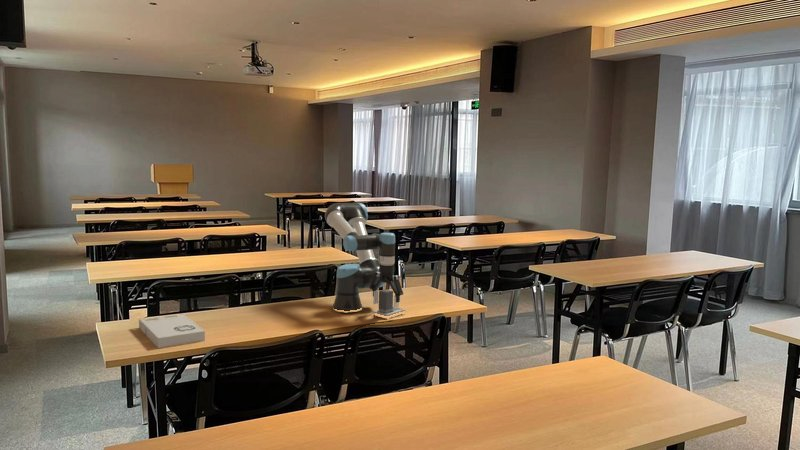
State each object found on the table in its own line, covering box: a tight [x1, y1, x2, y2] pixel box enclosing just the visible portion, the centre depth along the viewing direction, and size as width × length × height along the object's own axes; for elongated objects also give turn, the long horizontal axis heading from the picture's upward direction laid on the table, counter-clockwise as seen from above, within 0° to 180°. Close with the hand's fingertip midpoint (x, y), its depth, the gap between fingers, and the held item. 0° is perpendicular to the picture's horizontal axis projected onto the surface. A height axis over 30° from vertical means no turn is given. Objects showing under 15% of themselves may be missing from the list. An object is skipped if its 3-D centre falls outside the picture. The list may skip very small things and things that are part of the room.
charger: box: [378, 289, 394, 314], centre depth 290 cm, size 5×5×12 cm
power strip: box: [373, 305, 406, 316], centre depth 293 cm, size 9×14×3 cm, turn 140°
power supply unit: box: [138, 313, 206, 349], centre depth 253 cm, size 19×33×5 cm, turn 37°
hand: (385, 306), depth 290 cm, fingers open, 13 cm apart
